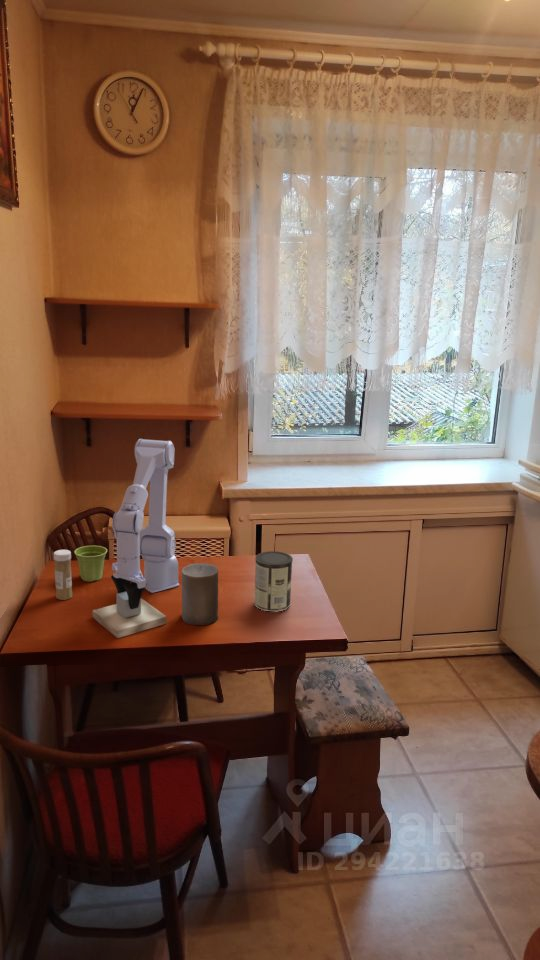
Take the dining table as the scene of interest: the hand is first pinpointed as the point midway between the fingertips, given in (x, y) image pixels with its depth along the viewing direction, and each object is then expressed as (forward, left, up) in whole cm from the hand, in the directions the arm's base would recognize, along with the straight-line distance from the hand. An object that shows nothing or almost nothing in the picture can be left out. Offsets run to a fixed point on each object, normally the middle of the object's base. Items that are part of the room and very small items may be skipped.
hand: (129, 604), depth 177 cm
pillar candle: (-16, +9, -5) cm, 19 cm away
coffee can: (-37, +14, -5) cm, 40 cm away
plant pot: (-4, -31, -5) cm, 32 cm away
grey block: (0, 0, -2) cm, 2 cm away
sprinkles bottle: (+8, -23, -5) cm, 25 cm away
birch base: (0, 0, -5) cm, 5 cm away
